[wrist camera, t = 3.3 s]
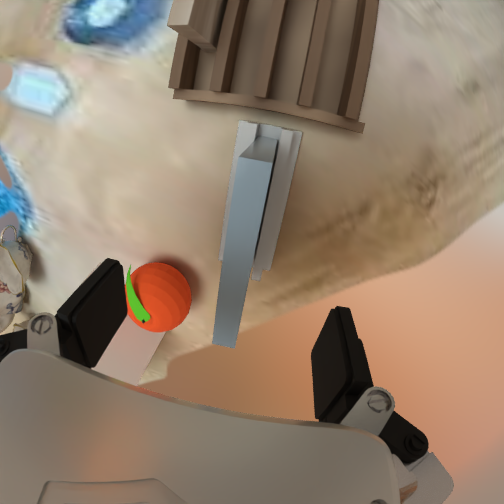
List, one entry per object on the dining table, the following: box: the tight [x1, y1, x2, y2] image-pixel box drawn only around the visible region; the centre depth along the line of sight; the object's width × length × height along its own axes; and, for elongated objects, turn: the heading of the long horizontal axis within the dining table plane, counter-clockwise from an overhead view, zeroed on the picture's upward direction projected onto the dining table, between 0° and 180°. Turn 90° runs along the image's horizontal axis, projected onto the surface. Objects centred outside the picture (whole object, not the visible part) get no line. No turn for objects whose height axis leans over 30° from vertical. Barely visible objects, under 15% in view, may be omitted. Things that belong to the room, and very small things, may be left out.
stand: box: [218, 120, 302, 281], centre depth 22 cm, size 5×13×3 cm, turn 170°
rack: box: [167, 0, 379, 134], centre depth 12 cm, size 14×17×9 cm
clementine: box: [125, 262, 192, 332], centre depth 25 cm, size 8×7×7 cm
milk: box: [83, 262, 166, 386], centre depth 22 cm, size 12×12×26 cm
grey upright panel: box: [212, 136, 277, 348], centre depth 18 cm, size 1×11×11 cm, turn 170°
